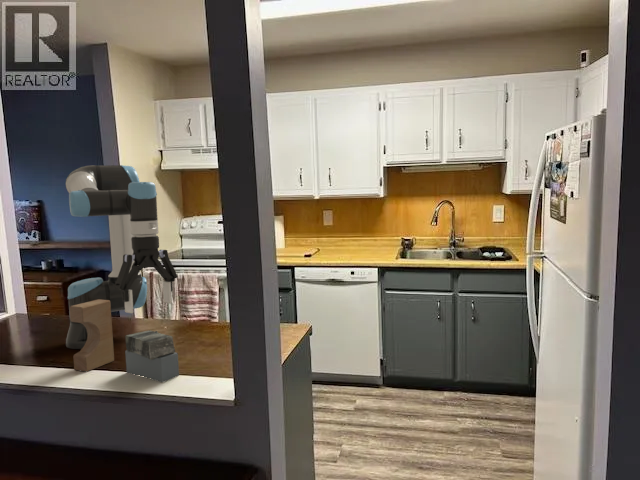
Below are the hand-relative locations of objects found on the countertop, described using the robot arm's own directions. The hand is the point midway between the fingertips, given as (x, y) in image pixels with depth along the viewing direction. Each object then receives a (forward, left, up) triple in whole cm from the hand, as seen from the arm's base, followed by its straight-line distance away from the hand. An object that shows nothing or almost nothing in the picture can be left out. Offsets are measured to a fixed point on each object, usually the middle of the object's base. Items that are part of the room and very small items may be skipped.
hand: (149, 307), depth 143 cm
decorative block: (-23, -4, -20) cm, 31 cm away
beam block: (0, 0, -20) cm, 20 cm away
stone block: (0, 0, -13) cm, 13 cm away
